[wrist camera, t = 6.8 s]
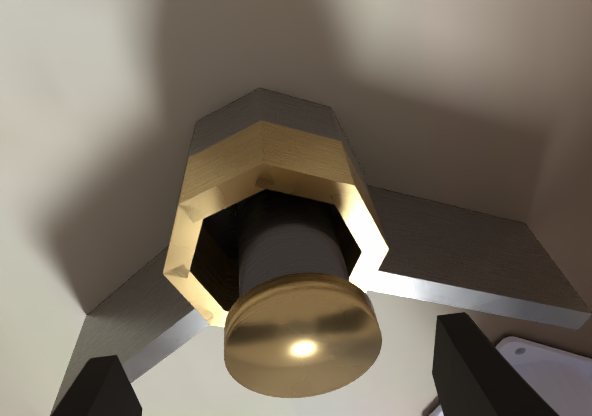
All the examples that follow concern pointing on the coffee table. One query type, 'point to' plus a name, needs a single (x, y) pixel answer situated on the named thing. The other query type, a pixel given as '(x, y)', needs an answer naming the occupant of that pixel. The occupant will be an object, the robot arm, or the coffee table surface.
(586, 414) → the robot arm
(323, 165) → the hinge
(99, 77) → the coffee table surface
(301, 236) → the pin
